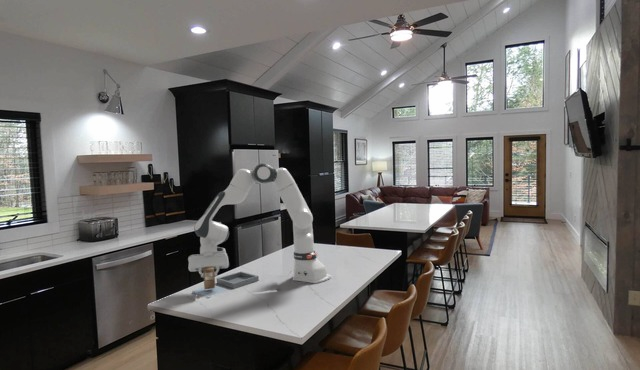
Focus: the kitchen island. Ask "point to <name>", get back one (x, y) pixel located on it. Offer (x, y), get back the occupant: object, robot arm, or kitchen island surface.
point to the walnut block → (209, 278)
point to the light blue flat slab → (209, 291)
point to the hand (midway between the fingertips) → (209, 276)
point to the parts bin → (237, 279)
